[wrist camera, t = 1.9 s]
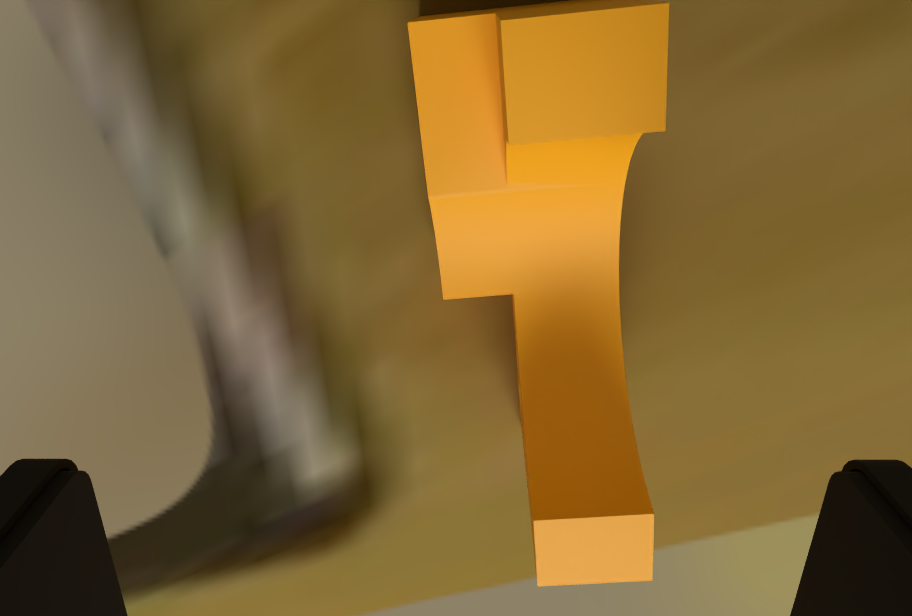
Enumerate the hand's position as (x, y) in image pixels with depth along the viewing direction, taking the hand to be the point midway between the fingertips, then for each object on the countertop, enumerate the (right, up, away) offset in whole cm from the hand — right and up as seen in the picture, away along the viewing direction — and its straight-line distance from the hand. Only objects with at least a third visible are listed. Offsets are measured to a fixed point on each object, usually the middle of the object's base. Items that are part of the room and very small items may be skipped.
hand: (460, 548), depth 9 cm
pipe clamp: (+2, +5, +10) cm, 12 cm away
